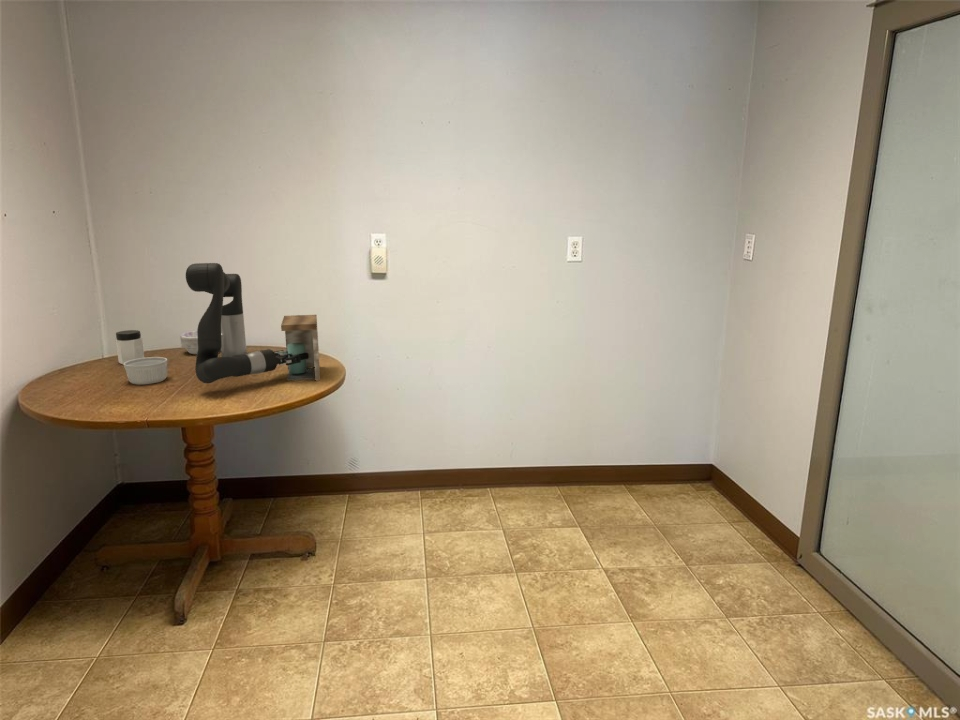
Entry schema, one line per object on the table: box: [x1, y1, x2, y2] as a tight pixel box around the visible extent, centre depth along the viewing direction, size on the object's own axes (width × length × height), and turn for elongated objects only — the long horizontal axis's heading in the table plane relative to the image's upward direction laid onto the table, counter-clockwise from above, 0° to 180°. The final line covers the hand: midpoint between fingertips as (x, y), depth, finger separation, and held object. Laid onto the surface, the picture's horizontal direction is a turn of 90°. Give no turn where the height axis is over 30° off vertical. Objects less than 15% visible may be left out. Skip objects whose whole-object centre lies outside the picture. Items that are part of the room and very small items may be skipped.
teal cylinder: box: [287, 343, 307, 374], centre depth 210 cm, size 6×6×10 cm
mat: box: [286, 368, 315, 381], centre depth 212 cm, size 9×14×1 cm, turn 15°
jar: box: [115, 329, 146, 366], centre depth 227 cm, size 9×8×12 cm
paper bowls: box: [179, 330, 198, 355], centre depth 245 cm, size 15×15×8 cm
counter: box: [280, 314, 321, 381], centre depth 211 cm, size 12×20×20 cm, turn 15°
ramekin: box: [123, 356, 169, 386], centre depth 203 cm, size 13×13×7 cm
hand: (302, 354), depth 212 cm, fingers closed on teal cylinder, 6 cm apart
